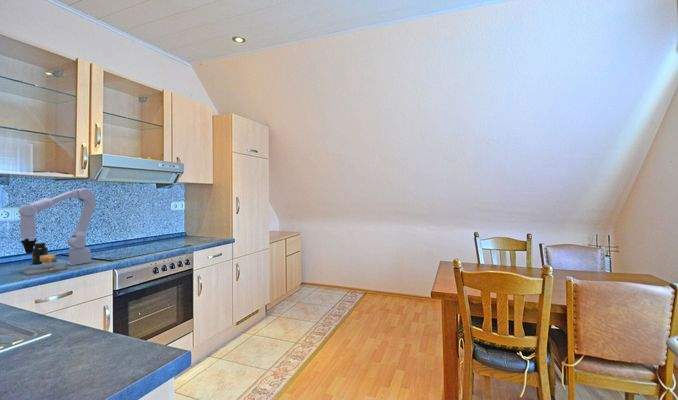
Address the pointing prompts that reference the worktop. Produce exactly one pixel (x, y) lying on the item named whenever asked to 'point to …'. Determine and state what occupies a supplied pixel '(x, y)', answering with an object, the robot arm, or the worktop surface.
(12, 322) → the worktop surface
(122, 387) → the worktop surface
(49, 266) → the plate
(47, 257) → the crank handle
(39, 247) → the supplement bottle
